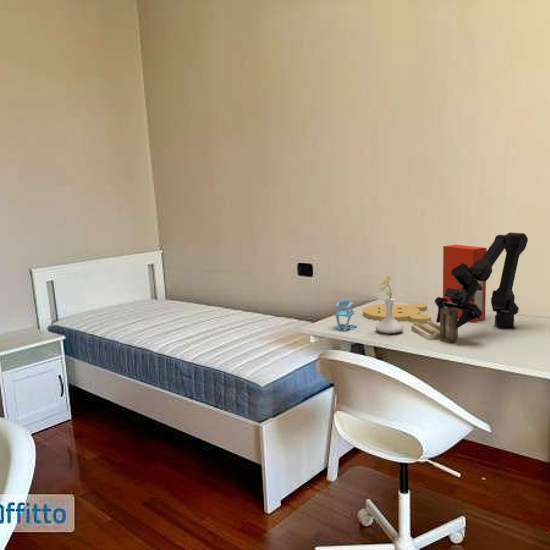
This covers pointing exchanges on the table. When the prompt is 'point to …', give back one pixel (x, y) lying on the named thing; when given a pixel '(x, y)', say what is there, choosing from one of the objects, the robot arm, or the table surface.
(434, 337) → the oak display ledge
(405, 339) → the table surface
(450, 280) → the file binder
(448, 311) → the walnut photo frame
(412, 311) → the decorative plaque
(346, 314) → the chair
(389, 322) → the flower in vase
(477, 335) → the table surface
